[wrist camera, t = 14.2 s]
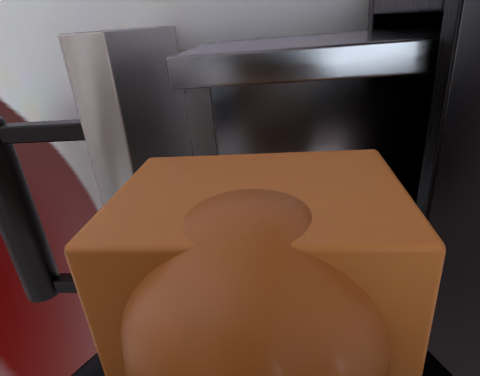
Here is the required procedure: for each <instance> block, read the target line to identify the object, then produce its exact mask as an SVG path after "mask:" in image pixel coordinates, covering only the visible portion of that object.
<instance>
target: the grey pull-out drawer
mask: <svg viewBox="0 0 480 376" xmlns="http://www.w3.org/2000/svg"><path fill="white" fill-rule="evenodd" d="M441 28H442V24H440V25H428V26H415V27H402V28H389V29H376V30H363V31H351V32H338V33H325V34H312V35H299V36H287V37H274V38H261V39H248V40H235V41H222V42H210V43H207V44H204V45H201V46H198V47H195V48H192V49H189V50H186V51H183V52H180V53H179V51H178V44H177V37H176V29H175V26H159V27H145V28H131V29H117V30H103V31H91V32H80V33H68V34H60V35H58V38H59V42H60V46H61V50H62V53H63V57H64V61H65V65H66V69H67V72H68V76H69V80H70V84H71V87H72V91H73V95H74V99H75V103H76V106H77V110H78V114H79V118H80V119H79V120H60V121H41V122H22V123H7V124H6V122H5V119H4V118H3V117H2V116H0V233H1V235H2V237H3V240H4V242H5V245H6V247H7V249H8V252H9V254H10V257H11V259H12V262H13V264H14V266H15V269H16V271H17V274H18V276H19V279H20V281H21V283H22V286H23V288H24V291H25V293H26V295H27V298H28V300H30V301H31V302H35V303H36V302H37V303H38V302H44V301H47V300H49V299H52V298H53V297H55V296H56V295H57V294H59V293H77V290H76V287H75V284H74V281H73V278H72V275H71V273H60V274H59V272H58V269H57V266H56V263H55V260H54V257H53V255H52V252H51V249H50V246H49V243H48V240H47V238H46V235H45V232H44V229H43V226H42V223H41V220H40V218H39V215H38V212H37V209H36V206H35V203H34V201H33V198H32V195H31V192H30V189H29V187H28V184H27V181H26V178H25V175H24V173H23V169H22V167H21V164H20V161H19V158H18V155H17V153H16V150H15V147H14V144H13V143H34V142H57V141H80V140H86V144H87V148H88V152H89V155H90V159H91V163H92V167H93V170H94V174H95V178H96V182H97V186H98V189H99V193H100V197H101V201H102V204H103V206H104V205H105V204H106V203H107V202H108V201H109V199H110V198H111V197H112V196H113V195H114V194H115V193H116V192H117V191H118V190H119V189H120V188H121V187H122V186H123V185H124V184H125V183H126V182H127V181H128V180H129V179H130V178H131V176H132V175H133V174H134V173H135V172H136V171H137V170H138V169H139V168H140V167H141V166H142V165H143V164H144V163H145V162H146V161H147V160H148V159H149V158H154V157H181V156H193V152H192V145H191V137H190V130H189V123H188V116H187V109H186V101H185V94H184V89H195V88H210V94H211V103H212V113H213V122H214V131H215V140H216V149H217V155H235V154H262V153H289V152H315V151H342V150H369V149H375V150H377V151H378V152H379V153H380V155H381V156H382V157H383V159H384V160H385V162H386V163H387V164H388V166H389V167H390V169H391V170H392V171H393V173H394V174H395V176H396V177H397V178H398V180H399V181H400V183H401V184H402V185H403V187H404V188H405V190H406V191H407V192H408V194H409V195H410V196H411V198H412V199H413V201H414V202H415V203H417V196H418V189H419V182H420V175H421V168H422V161H423V154H424V147H425V140H426V133H427V126H428V119H429V112H430V105H431V98H432V91H433V84H434V77H435V70H436V63H437V56H438V49H439V42H440V35H441Z"/></svg>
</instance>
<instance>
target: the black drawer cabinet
mask: <svg viewBox="0 0 480 376" xmlns="http://www.w3.org/2000/svg"><path fill="white" fill-rule="evenodd" d="M440 24H442V28H441V35H440V42H439V49H438V56H437V63H436V70H435V77H434V84H433V91H432V98H431V105H430V112H429V119H428V126H427V133H426V140H425V147H424V154H423V161H422V168H421V175H420V182H419V189H418V196H417V203H416V205H417V206H418V208H419V209H420V210H421V212H422V213H423V215H424V216H425V217H426V219H427V220H428V222H429V223H430V224H431V226H432V227H433V229H434V230H435V231H436V233H437V234H438V235H439V237H440V238H441V240H442V241H443V242H444V244H445V247H446V253H445V259H444V264H443V269H442V274H441V279H440V285H439V290H438V295H437V300H436V306H435V311H434V316H433V321H432V327H431V332H430V337H429V342H428V347H427V350H428V351H429V352H430V353H431V354H432V355H433V356H434V357H435V358H436V359H437V360H438V361H439V362H440V363H441V364H442V365H443V366H444V367H445V368H446V369H447V370H448V371H449V372H450V373H451V374H452V375H453V376H480V0H369V15H368V30H376V29H389V28H402V27H415V26H428V25H440Z"/></svg>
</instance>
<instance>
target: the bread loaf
mask: <svg viewBox="0 0 480 376" xmlns="http://www.w3.org/2000/svg"><path fill="white" fill-rule="evenodd" d="M445 253H446V247H445V244H444V242H443V241H442V240H441V238H440V237H439V235H438V234H437V233H436V231H435V230H434V229H433V227H432V226H431V224H430V223H429V222H428V220H427V219H426V217H425V216H424V215H423V213H422V212H421V210H420V209H419V208H418V206H417V205H416V203H415V202H414V201H413V199H412V198H411V196H410V195H409V194H408V192H407V191H406V190H405V188H404V187H403V185H402V184H401V183H400V181H399V180H398V178H397V177H396V176H395V174H394V173H393V171H392V170H391V169H390V167H389V166H388V164H387V163H386V162H385V160H384V159H383V157H382V156H381V155H380V153H379V152H378V151H377V150H375V149H369V150H342V151H315V152H289V153H262V154H235V155H208V156H181V157H154V158H149V159H148V160H147V161H146V162H145V163H144V164H143V165H142V166H141V167H140V168H139V169H138V170H137V171H136V172H135V173H134V174H133V175H132V176H131V178H130V179H129V180H128V181H127V182H126V183H125V184H124V185H123V186H122V187H121V188H120V189H119V190H118V191H117V192H116V193H115V194H114V195H113V196H112V197H111V198H110V199H109V201H108V202H107V203H106V204H105V205H104V206H103V207H102V208H101V209H100V210H99V211H98V212H97V213H96V214H95V215H94V216H93V217H92V218H91V219H90V220H89V222H88V223H87V224H86V225H85V226H84V227H83V228H82V229H81V230H80V231H79V232H78V233H77V234H76V235H75V236H74V237H73V238H72V239H71V240H70V241H69V243H68V244H66V246H65V248H64V254H65V257H66V260H67V263H68V266H69V269H70V272H71V275H72V278H73V281H74V284H75V287H76V290H77V293H78V296H79V298H80V301H81V304H82V307H83V310H84V314H85V316H86V319H87V322H88V325H89V328H90V331H91V334H92V337H93V340H94V343H95V346H96V349H97V352H98V355H99V358H100V361H101V364H102V367H103V370H104V373H105V376H422V374H423V368H424V363H425V358H426V353H427V347H428V342H429V337H430V332H431V327H432V321H433V316H434V311H435V306H436V300H437V295H438V290H439V285H440V279H441V274H442V269H443V264H444V259H445Z"/></svg>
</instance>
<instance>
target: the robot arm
mask: <svg viewBox="0 0 480 376" xmlns="http://www.w3.org/2000/svg"><path fill="white" fill-rule="evenodd" d="M71 376H105V373H104V370H103V367H102V364H101V361H100V358H99V355H98V352H97V353H96V354H95V355H94V356H93V357H92V358H91V359H90V360H88V361H87V362H86V363H85V364H84V365H83V366H81V367H80V368H79V369H78V370H77V371H76V372H75V373H74V374H72V375H71ZM422 376H453V375H452V374H451V373H450V372H449V371H448V370H447V369H446V368H445V367H444V366H443V365H442V364H441V363H440V362H439V361H438V360H437V359H436V358H435V357H434V356H433V355H432V354H431V353H430V352H429V351H428V350H427V353H426V358H425V363H424V368H423V374H422Z"/></svg>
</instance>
